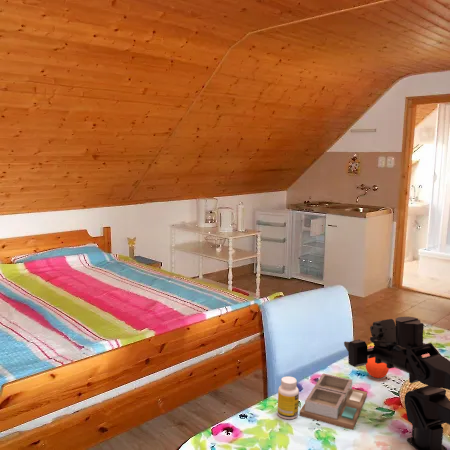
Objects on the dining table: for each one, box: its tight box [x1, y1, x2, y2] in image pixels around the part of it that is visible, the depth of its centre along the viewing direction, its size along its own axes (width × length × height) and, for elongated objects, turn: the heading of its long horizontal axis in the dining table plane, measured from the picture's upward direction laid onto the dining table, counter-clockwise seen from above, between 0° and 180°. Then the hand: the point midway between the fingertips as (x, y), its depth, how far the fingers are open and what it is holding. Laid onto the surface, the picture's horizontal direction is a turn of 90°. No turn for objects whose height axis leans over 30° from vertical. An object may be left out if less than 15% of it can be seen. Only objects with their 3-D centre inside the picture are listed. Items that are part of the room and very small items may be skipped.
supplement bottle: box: [277, 376, 300, 420], centre depth 125 cm, size 5×5×10 cm
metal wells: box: [304, 373, 353, 420], centre depth 131 cm, size 18×9×3 cm, turn 153°
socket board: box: [299, 385, 368, 430], centre depth 131 cm, size 19×14×2 cm
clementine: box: [365, 357, 389, 379], centre depth 147 cm, size 8×7×7 cm
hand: (357, 340), depth 133 cm, fingers open, 9 cm apart
